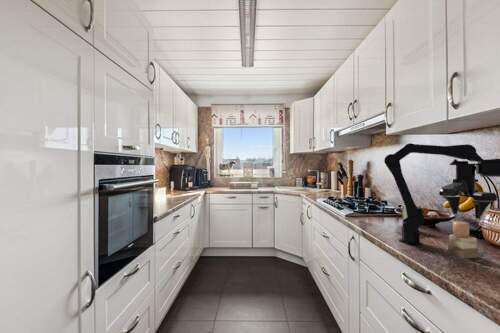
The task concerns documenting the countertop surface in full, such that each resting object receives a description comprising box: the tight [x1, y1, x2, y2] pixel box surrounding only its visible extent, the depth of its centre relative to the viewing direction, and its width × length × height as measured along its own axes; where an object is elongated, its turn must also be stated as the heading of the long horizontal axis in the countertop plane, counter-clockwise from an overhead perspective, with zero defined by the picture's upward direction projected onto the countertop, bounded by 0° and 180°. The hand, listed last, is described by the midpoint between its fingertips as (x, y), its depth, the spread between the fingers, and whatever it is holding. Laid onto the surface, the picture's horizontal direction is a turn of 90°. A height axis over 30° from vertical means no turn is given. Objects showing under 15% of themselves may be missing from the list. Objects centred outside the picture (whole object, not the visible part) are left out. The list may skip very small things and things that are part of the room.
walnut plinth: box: [447, 243, 479, 259], centre depth 93 cm, size 6×6×4 cm
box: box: [401, 204, 407, 221], centre depth 127 cm, size 5×4×13 cm
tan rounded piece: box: [452, 220, 470, 238], centre depth 93 cm, size 5×5×5 cm
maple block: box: [448, 234, 478, 249], centre depth 93 cm, size 6×6×4 cm
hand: (465, 216), depth 99 cm, fingers open, 9 cm apart
